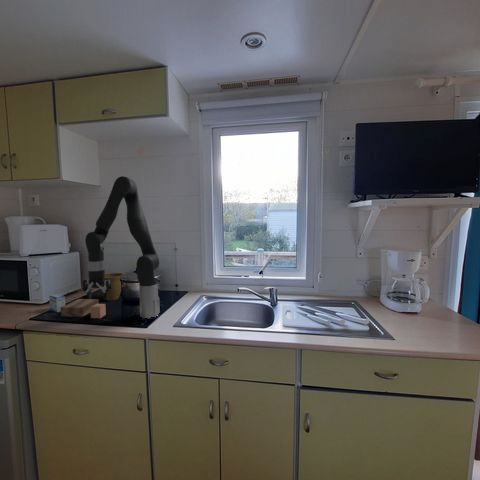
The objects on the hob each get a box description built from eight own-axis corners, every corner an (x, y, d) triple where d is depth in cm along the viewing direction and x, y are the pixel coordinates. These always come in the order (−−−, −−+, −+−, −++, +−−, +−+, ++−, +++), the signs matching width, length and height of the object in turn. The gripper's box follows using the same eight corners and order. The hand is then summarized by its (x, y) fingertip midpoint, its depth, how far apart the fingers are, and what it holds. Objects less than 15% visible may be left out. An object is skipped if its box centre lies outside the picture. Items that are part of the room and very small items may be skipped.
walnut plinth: (98, 307, 145) (98, 299, 144) (82, 316, 131) (82, 307, 130) (79, 307, 145) (78, 298, 145) (61, 316, 131) (60, 307, 131)
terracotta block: (105, 314, 134) (105, 304, 133) (100, 318, 129) (99, 307, 128) (96, 314, 134) (96, 303, 134) (91, 318, 129) (90, 307, 129)
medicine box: (49, 310, 140) (48, 295, 140) (58, 307, 144) (57, 293, 144) (57, 312, 137) (56, 297, 136) (65, 310, 141) (65, 295, 140)
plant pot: (129, 298, 162) (128, 274, 161) (105, 304, 150) (104, 278, 149) (118, 294, 171) (117, 271, 170) (95, 299, 159) (93, 275, 158)
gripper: (113, 268, 133) (114, 297, 134) (88, 267, 134) (89, 296, 135) (105, 270, 126) (106, 301, 127) (78, 270, 126) (79, 300, 127)
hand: (97, 298), depth 131 cm, fingers open, 8 cm apart
